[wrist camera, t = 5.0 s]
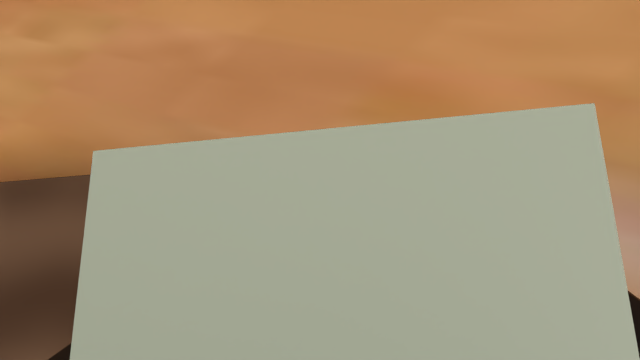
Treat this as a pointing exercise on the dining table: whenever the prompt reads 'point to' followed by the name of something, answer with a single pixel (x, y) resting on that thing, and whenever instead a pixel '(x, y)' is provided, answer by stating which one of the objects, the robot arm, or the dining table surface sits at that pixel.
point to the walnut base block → (40, 264)
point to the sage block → (359, 245)
